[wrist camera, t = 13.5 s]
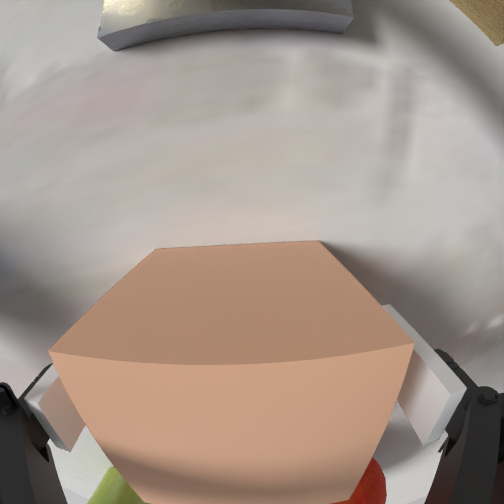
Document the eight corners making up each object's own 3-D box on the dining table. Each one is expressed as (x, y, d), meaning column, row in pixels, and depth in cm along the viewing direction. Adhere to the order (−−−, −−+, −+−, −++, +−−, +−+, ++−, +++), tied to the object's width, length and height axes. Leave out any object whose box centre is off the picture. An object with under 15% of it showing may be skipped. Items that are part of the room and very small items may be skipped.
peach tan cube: (155, 248, 14) (47, 350, 5) (318, 240, 14) (414, 342, 5) (179, 375, 16) (144, 502, 7) (311, 370, 16) (348, 499, 7)
